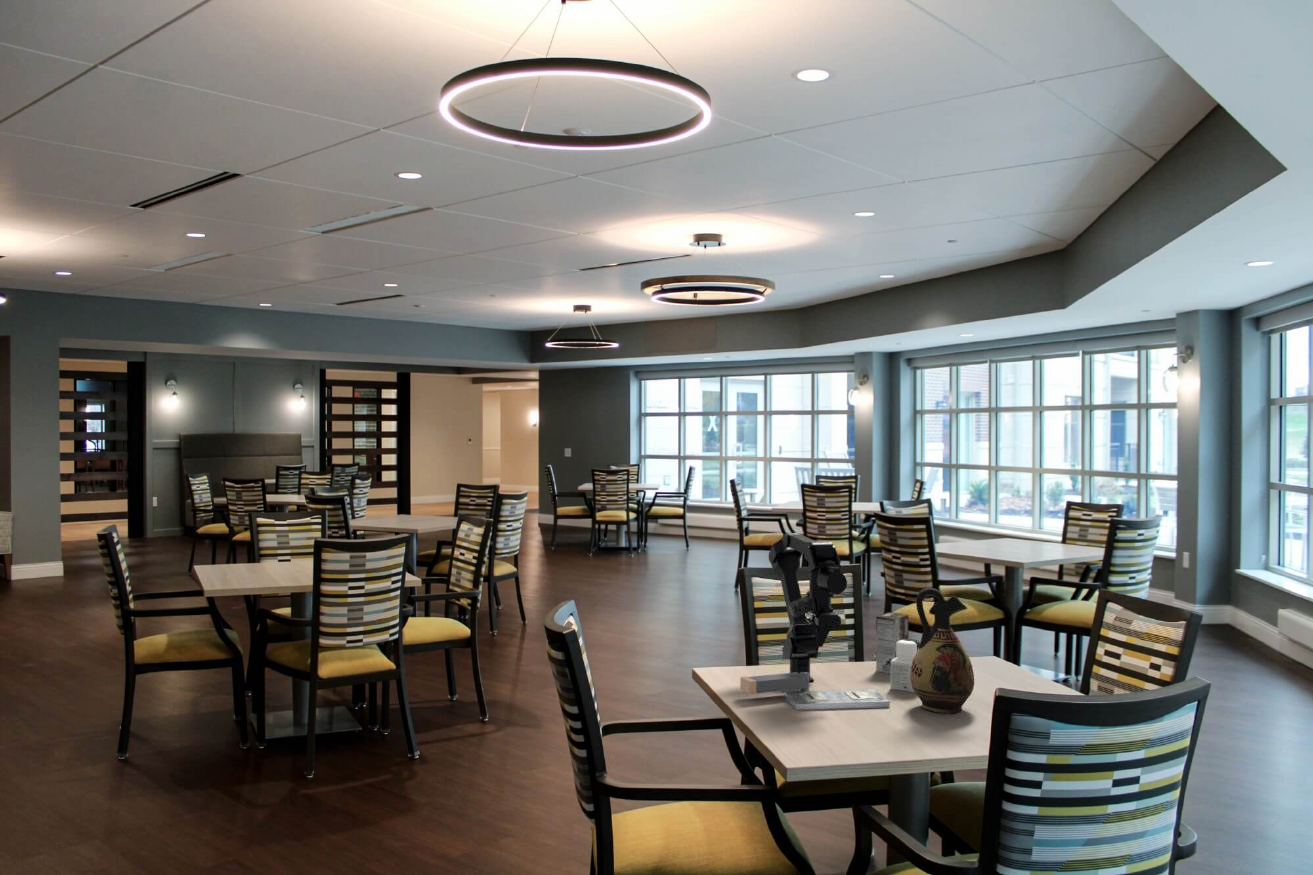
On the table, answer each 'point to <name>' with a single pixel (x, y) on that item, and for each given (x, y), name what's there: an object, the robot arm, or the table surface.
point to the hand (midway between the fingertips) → (820, 646)
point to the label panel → (836, 699)
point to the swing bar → (775, 682)
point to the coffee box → (889, 638)
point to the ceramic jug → (941, 658)
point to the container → (903, 664)
